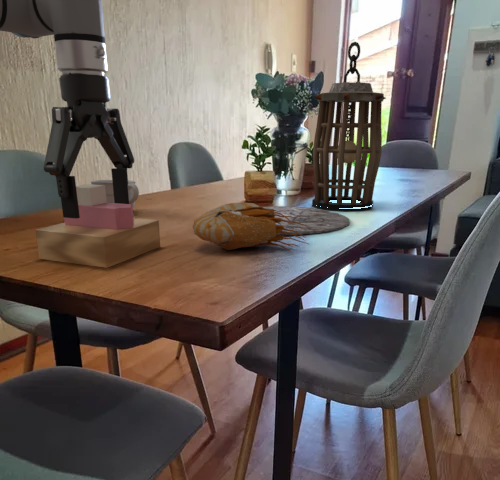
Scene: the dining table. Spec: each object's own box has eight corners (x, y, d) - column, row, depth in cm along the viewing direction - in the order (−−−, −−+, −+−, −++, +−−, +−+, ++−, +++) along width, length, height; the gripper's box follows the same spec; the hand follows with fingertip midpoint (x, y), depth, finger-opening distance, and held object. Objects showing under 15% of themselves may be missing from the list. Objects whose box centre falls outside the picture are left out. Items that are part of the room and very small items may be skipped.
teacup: (86, 212, 130) (83, 179, 127) (124, 207, 137) (121, 176, 134) (113, 219, 120) (110, 184, 117) (152, 214, 127) (150, 181, 124)
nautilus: (316, 247, 98) (293, 270, 85) (216, 231, 105) (180, 250, 92) (321, 206, 94) (297, 224, 82) (216, 192, 101) (179, 207, 89)
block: (39, 258, 87) (35, 229, 85) (99, 240, 100) (96, 214, 98) (107, 268, 82) (103, 237, 80) (160, 246, 95) (158, 220, 93)
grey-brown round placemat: (368, 214, 128) (368, 213, 128) (317, 241, 100) (317, 239, 100) (251, 204, 143) (251, 202, 142) (178, 224, 114) (178, 223, 114)
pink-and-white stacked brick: (64, 224, 89) (59, 186, 86) (83, 219, 93) (79, 183, 91) (124, 230, 84) (120, 190, 82) (141, 225, 89) (138, 187, 86)
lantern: (387, 205, 144) (405, 43, 128) (363, 215, 129) (379, 33, 113) (324, 199, 153) (334, 48, 138) (295, 207, 138) (302, 39, 122)
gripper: (44, 66, 68) (65, 225, 76) (148, 79, 89) (156, 202, 97) (2, 68, 71) (27, 221, 79) (113, 80, 92) (123, 200, 100)
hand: (98, 211), depth 88 cm, fingers open, 13 cm apart
